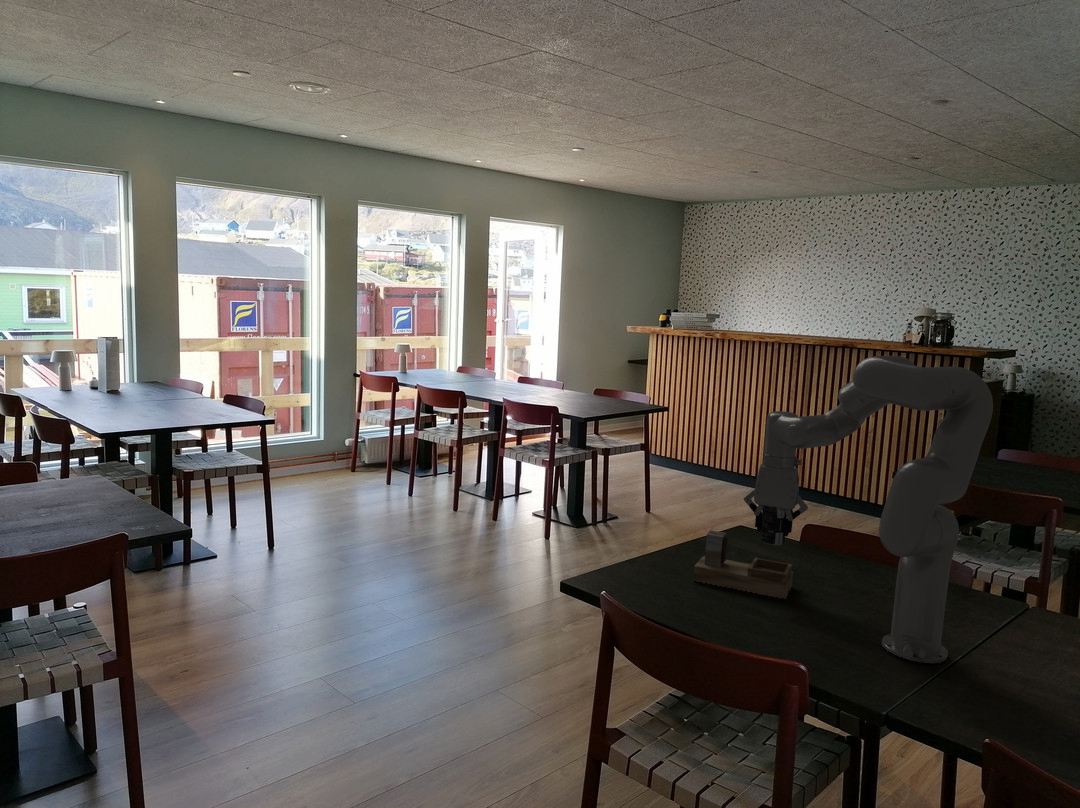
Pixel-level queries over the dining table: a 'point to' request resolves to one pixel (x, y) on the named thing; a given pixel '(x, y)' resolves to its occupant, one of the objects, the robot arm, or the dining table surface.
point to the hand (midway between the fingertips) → (772, 532)
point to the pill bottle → (773, 525)
